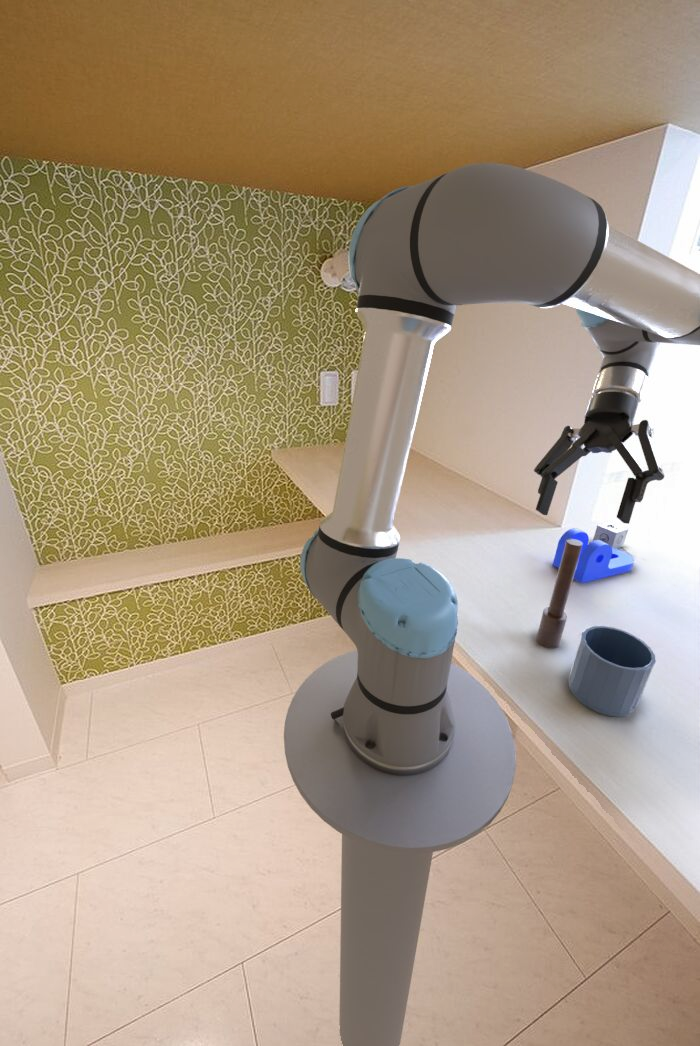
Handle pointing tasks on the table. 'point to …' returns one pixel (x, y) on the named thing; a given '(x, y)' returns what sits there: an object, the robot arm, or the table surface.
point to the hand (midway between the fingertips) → (578, 516)
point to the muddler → (559, 597)
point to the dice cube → (611, 534)
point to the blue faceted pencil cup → (610, 670)
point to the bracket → (594, 558)
